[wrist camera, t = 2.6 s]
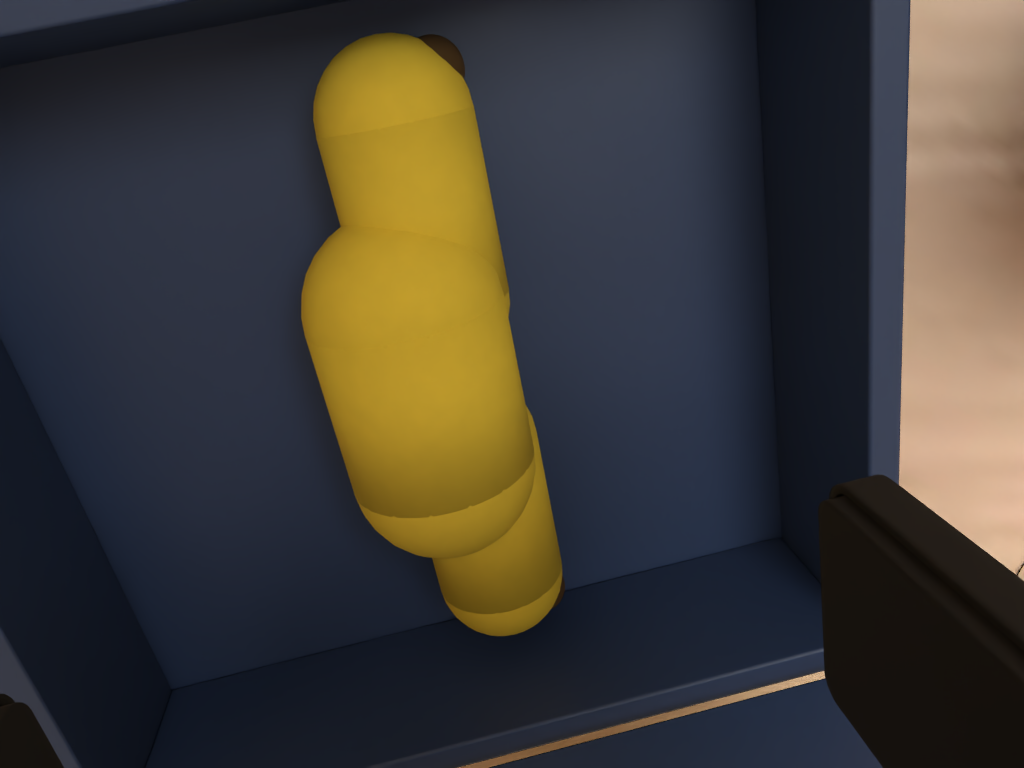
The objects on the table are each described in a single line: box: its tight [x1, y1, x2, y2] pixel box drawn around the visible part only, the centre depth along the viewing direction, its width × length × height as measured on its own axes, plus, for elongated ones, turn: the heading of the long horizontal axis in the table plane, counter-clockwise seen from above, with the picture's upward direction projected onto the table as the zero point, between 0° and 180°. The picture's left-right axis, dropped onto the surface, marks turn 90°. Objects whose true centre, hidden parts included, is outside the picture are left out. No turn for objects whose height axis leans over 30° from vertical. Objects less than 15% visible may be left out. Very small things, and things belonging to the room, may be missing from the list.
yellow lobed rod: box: [301, 33, 565, 636], centre depth 16 cm, size 14×4×4 cm, turn 11°
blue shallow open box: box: [0, 0, 910, 768], centre depth 16 cm, size 16×18×5 cm
